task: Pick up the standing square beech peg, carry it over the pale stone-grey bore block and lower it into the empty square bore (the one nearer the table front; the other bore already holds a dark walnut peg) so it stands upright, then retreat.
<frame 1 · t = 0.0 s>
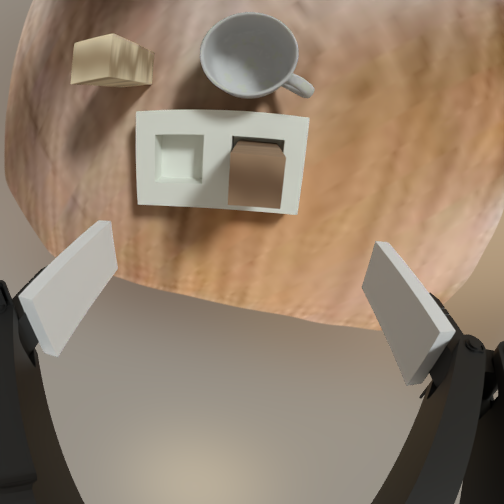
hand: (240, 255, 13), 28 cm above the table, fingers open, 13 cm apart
walnut pin: (256, 157, 38), resting on bore block
bore block: (220, 155, 38), on the table
pin: (136, 70, 32), on the table
teacup: (259, 70, 33), on the table
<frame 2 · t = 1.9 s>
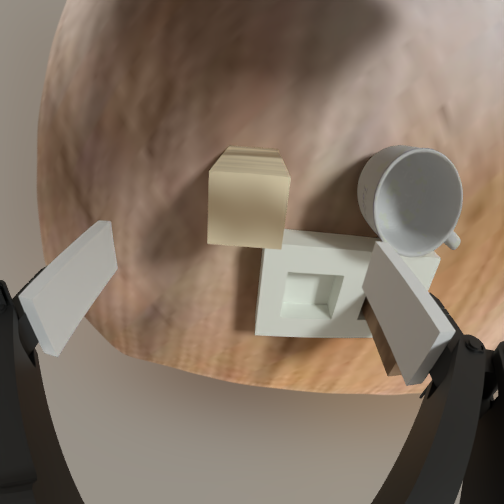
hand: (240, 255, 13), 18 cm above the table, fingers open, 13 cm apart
walnut pin: (376, 282, 36), resting on bore block
bore block: (343, 280, 36), on the table
pin: (251, 169, 30), on the table
teacup: (397, 192, 30), on the table
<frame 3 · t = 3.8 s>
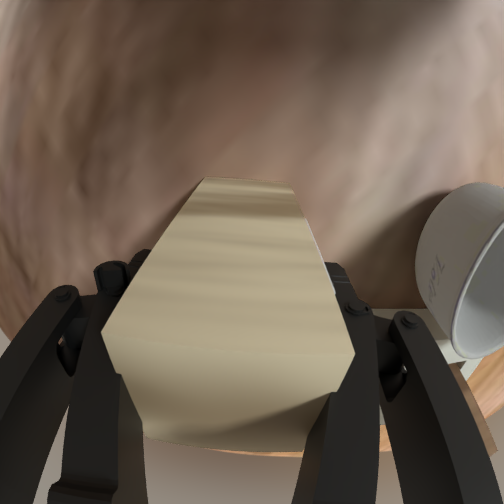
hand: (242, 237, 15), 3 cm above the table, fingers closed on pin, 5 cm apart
walnut pin: (414, 358, 24), resting on bore block
bore block: (372, 361, 24), on the table
pin: (244, 218, 18), on the table, touching gripper
teacup: (460, 246, 18), on the table
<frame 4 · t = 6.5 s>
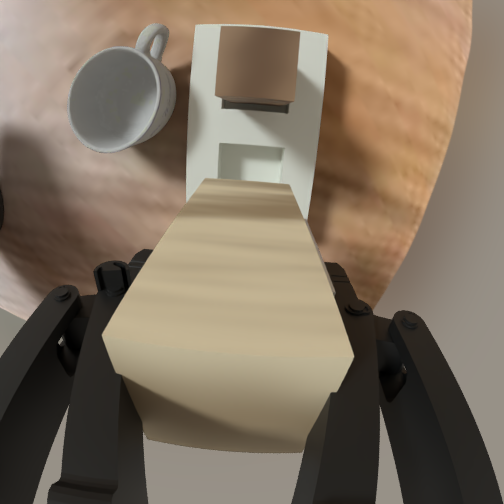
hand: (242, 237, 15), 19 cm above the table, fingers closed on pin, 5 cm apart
walnut pin: (257, 83, 27), resting on bore block
bore block: (253, 126, 29), on the table
pin: (244, 219, 18), point 16 cm above the table, touching gripper
teacup: (148, 88, 27), on the table
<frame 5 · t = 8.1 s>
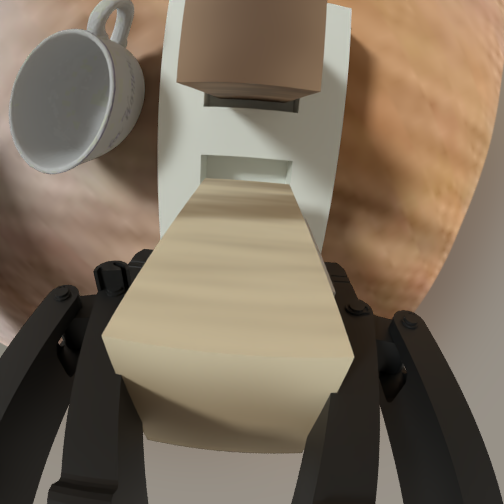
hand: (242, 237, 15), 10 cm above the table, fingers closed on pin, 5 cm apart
walnut pin: (254, 72, 20), resting on bore block
bore block: (249, 129, 22), on the table
pin: (244, 219, 18), point 8 cm above the table, touching gripper
teacup: (113, 84, 20), on the table
when the fingers open (5 cm above the table, at t = 9.3 s): pin drops 1 cm, resting on bore block.
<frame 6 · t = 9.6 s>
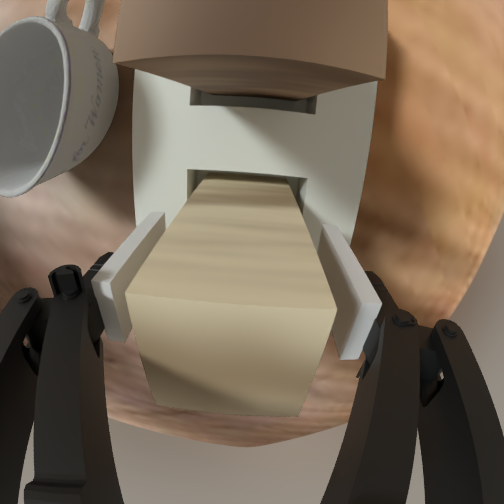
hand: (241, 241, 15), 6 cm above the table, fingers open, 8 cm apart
walnut pin: (257, 62, 15), resting on bore block
bore block: (251, 134, 17), on the table
pin: (244, 211, 19), point 1 cm above the table, touching bore block
teacup: (86, 82, 15), on the table
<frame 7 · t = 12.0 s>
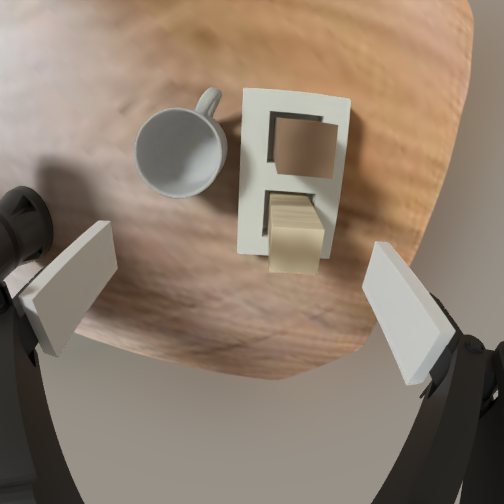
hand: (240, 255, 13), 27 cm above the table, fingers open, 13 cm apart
walnut pin: (292, 136, 36), resting on bore block
bore block: (289, 171, 38), on the table
pin: (286, 208, 40), point 1 cm above the table, touching bore block
teacup: (199, 136, 36), on the table
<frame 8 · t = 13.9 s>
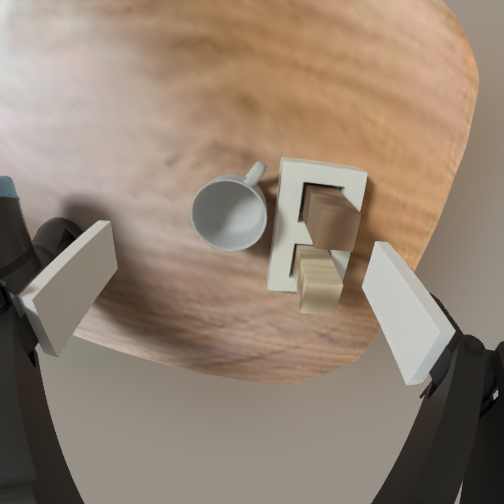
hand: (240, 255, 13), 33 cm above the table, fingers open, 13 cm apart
walnut pin: (316, 197, 45), resting on bore block
bore block: (311, 225, 48), on the table
pin: (307, 254, 49), point 1 cm above the table, touching bore block
teacup: (239, 193, 46), on the table
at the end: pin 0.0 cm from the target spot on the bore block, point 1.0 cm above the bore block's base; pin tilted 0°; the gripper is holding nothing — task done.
